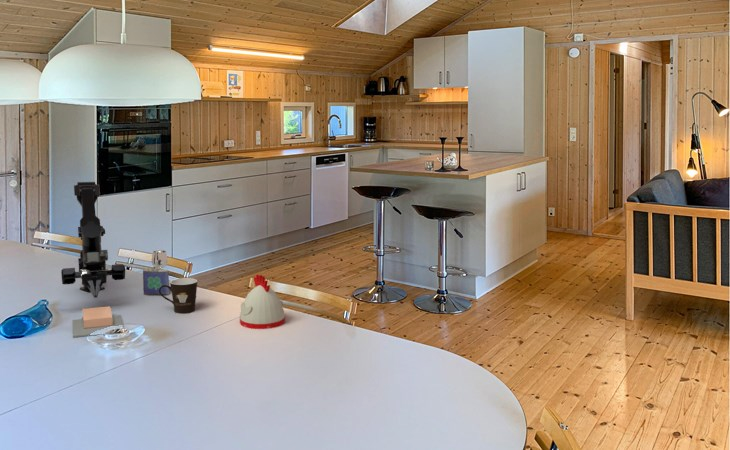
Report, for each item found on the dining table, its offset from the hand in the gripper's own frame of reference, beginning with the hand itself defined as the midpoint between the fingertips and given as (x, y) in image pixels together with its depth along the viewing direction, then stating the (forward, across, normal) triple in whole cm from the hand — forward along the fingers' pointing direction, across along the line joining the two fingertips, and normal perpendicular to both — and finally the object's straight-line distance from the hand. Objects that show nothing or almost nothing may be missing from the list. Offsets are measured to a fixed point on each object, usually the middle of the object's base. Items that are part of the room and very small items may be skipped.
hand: (95, 296), depth 201 cm
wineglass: (-22, +24, +31) cm, 45 cm away
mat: (+11, 0, -2) cm, 11 cm away
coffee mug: (+6, +26, +4) cm, 27 cm away
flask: (-10, +20, +20) cm, 30 cm away
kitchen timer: (+21, +47, -11) cm, 53 cm away
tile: (+3, 0, +4) cm, 5 cm away
